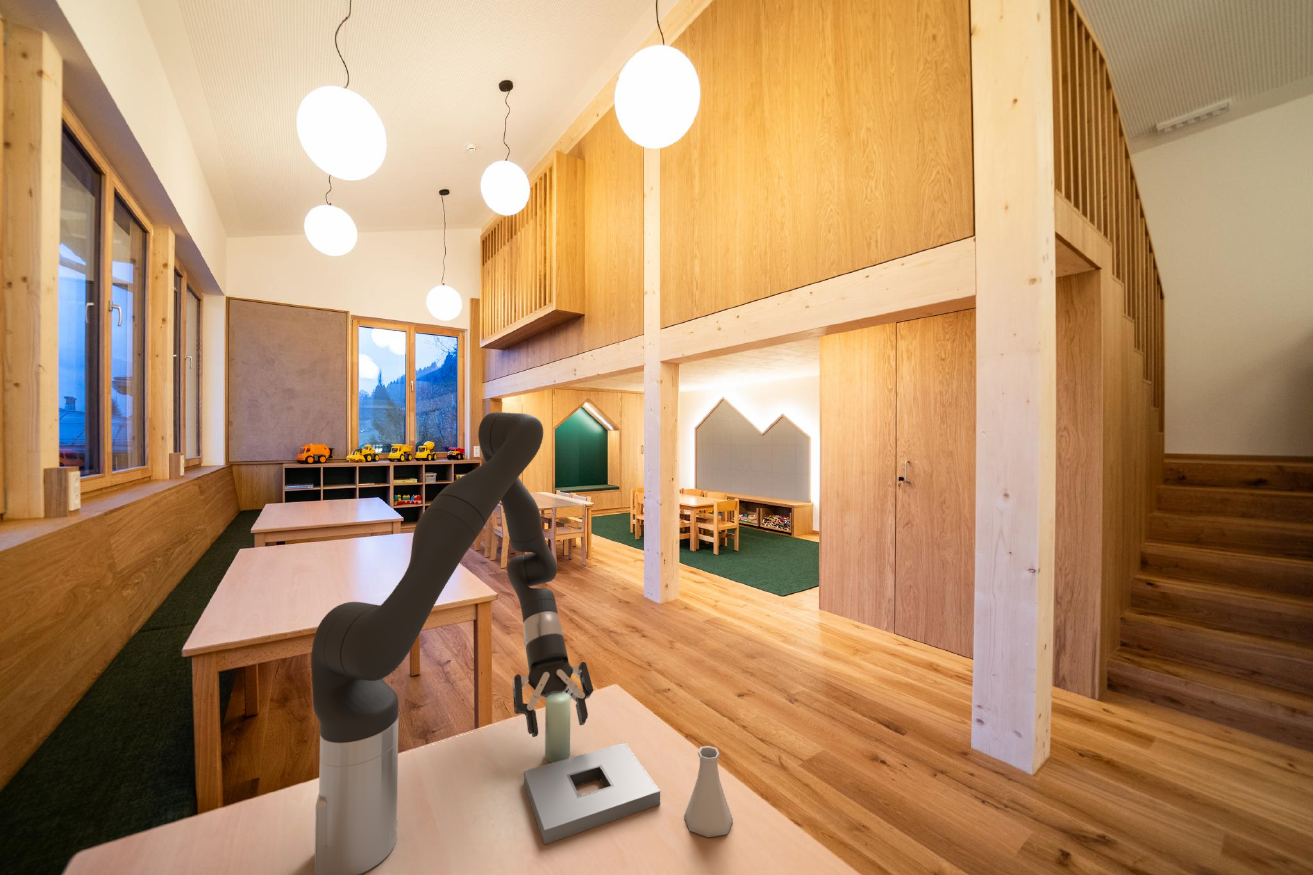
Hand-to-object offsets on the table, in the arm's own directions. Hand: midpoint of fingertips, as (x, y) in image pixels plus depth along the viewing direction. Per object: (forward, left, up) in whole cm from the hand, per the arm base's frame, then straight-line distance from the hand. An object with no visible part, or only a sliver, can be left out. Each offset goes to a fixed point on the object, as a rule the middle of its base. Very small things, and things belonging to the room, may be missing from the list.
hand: (559, 729), depth 88 cm
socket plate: (+2, -11, -5) cm, 12 cm away
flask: (+16, -24, -5) cm, 29 cm away
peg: (0, +1, -5) cm, 5 cm away
